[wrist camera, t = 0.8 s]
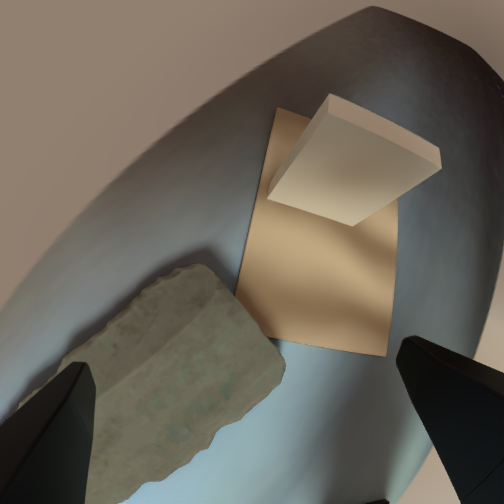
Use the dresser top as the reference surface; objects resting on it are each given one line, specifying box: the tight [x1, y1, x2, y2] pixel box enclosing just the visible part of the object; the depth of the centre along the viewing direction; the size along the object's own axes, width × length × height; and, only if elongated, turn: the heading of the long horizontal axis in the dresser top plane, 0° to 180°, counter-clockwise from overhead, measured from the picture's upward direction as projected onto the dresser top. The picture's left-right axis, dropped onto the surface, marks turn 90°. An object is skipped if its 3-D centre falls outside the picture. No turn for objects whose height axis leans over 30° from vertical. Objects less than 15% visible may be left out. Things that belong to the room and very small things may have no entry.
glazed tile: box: [267, 93, 442, 227], centre depth 19 cm, size 2×7×10 cm, turn 77°
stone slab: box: [15, 263, 286, 504], centre depth 16 cm, size 22×3×10 cm
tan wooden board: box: [234, 107, 398, 357], centre depth 23 cm, size 18×12×1 cm
